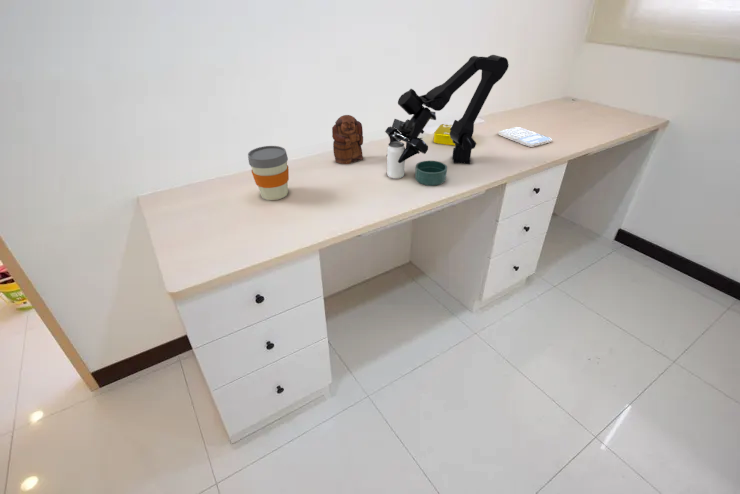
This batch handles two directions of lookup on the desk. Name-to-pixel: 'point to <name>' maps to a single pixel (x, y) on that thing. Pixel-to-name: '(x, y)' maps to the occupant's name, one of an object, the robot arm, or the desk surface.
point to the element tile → (443, 135)
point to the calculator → (524, 136)
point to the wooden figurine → (347, 140)
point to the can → (395, 160)
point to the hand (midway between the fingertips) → (392, 159)
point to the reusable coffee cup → (270, 171)
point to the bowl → (430, 173)
